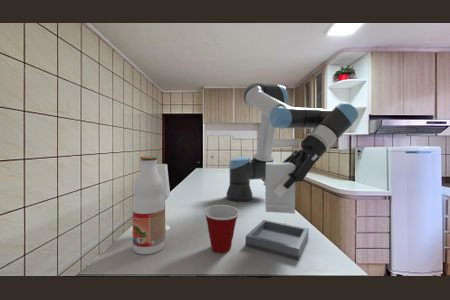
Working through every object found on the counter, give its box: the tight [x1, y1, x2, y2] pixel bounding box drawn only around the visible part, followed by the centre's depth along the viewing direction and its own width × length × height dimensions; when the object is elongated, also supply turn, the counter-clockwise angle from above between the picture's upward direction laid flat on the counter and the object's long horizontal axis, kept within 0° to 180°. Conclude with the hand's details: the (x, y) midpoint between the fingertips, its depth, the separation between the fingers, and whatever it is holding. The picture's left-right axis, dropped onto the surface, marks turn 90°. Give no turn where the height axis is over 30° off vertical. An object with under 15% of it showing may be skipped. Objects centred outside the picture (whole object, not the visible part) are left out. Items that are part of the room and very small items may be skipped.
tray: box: [245, 219, 309, 261], centre depth 70 cm, size 16×16×3 cm
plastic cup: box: [203, 204, 240, 254], centre depth 65 cm, size 11×11×12 cm
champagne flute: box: [156, 163, 171, 232], centre depth 79 cm, size 7×7×24 cm
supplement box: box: [265, 161, 296, 215], centre depth 69 cm, size 9×9×15 cm
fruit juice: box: [131, 155, 166, 255], centre depth 65 cm, size 9×9×28 cm
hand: (270, 190), depth 69 cm, fingers closed on supplement box, 10 cm apart
